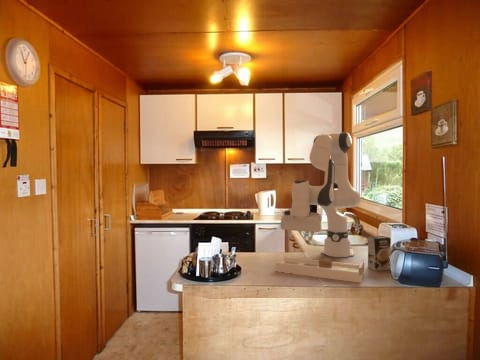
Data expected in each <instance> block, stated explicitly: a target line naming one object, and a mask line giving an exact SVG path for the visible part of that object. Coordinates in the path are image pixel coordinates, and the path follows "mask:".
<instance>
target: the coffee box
mask: <svg viewBox="0 0 480 360" xmlns="http://www.w3.org/2000/svg"><path fill="white" fill-rule="evenodd" d="M367 240H368V241H367V268H368V269H370V270H373V271H375V272H377V271H386V270H389V271H390V269H389V256H390V251H391V249H392V248H391V247H392V246H391V244H392V243H391V241H392V239H391V237H389V236H385V235H374V236H368V237H367ZM391 252H392V251H391Z"/></svg>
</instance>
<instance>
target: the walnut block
mask: <svg viewBox="0 0 480 360" xmlns="http://www.w3.org/2000/svg"><path fill="white" fill-rule="evenodd" d="M332 262H333V260H332V258H328V257H320V258H319V267H321V268H330V269H331V267H332Z"/></svg>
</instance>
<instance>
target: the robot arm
mask: <svg viewBox="0 0 480 360" xmlns="http://www.w3.org/2000/svg"><path fill="white" fill-rule="evenodd" d="M352 143H353V140H352V136H351V134H350V133H349V132H345V131H341V132H330V133H324V134H323V133H322V134H318V135H317V136H315V137H314V139H313V143H312V147H311V150H310V153H309V161H310V163H311V165H312V166H313V167H314V168H316V169H318V170H321V171H322V172H324V180H323V182H324V183H323V184H322V185H320V186H319V185H310V182H309V180H308V179H304V178H303V179H297V180H294V181H293V182H292V187H291V199H292V204H291V208H288V209H285V210H283V211H282V216H281V219H280V229H281V230H283V231H284V230H285V231H287V234H288V235H289V239H290V240H294V235H293V234H292V231H296V232H309V233H310V236H307V239H308V240H307V241H310V242H312V241H313V237H314V234H315V233H320V232H321V231H322V219H323V217H322V215H321V214H320V213H319V212H311V206H312V205H314V206H320V208H321V209H323V211H324V213H325V215H326V220H327V231H326V238H324V242H323V243H324V245H323V250H321V254H324V255H326V256H329V257H335V258H347V257H354V256H355V253H354V249H353V248H352V246H351V241H350V239H349V231H348V218H347V216H346V215H344V214H343V213H342V212H340V211H339V210H338V208H343V209H345V208H346V209H347V208H348V209H349V208H356V207H357V206H359V204H360V202H361V194H360V192H359V191H358V190H357V189H355V188H354V186H353V185H352V184H351V183H350V180H349V161H348V160H349V158H348V151H349V150H350V148H351V147H352ZM335 184H336V185H337V187H338V188H335Z"/></svg>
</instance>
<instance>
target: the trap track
mask: <svg viewBox="0 0 480 360" xmlns="http://www.w3.org/2000/svg"><path fill="white" fill-rule="evenodd" d="M319 260H320V259H319ZM319 260H318V259H310V258H304V257H303V258H302V257H292V256H283V259H282V260H281V261H280V262H275V272H276V271H278V272H277V273H282V272H284V273H283V274H290V273H292V274H291V275H299V276H306V277H313V278H322V279H329V280H339V281H345V282H350V283H351V282H352V283H362V281H363V278H364V276H365V261H364V260H361V262H360V264H358V263H348V262H341V261H339V262H338V261H332V267H331V269H330V268H321V267H319Z"/></svg>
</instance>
